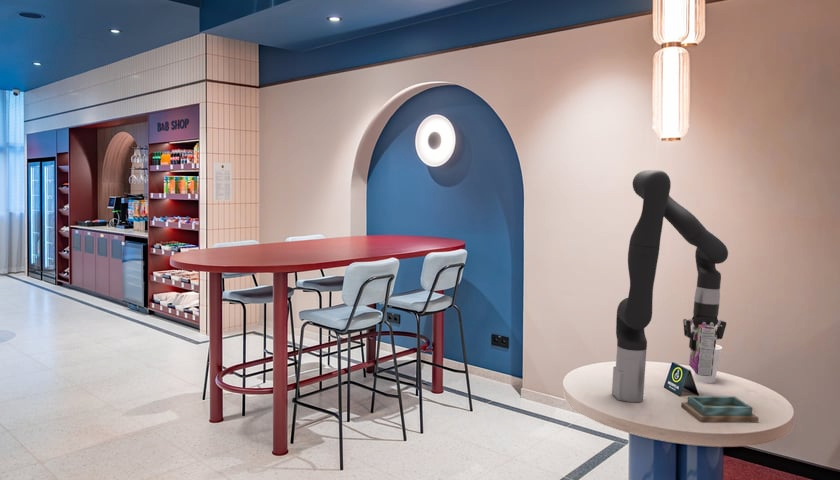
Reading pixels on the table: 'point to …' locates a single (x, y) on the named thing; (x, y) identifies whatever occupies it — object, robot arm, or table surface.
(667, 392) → the table surface
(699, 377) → the foam cup
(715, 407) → the display base
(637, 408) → the table surface
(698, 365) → the candy bar box
